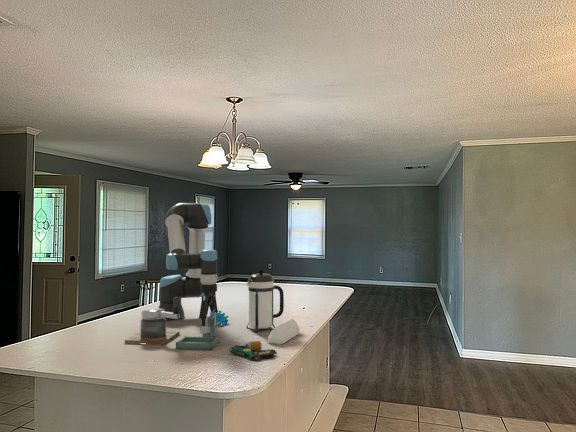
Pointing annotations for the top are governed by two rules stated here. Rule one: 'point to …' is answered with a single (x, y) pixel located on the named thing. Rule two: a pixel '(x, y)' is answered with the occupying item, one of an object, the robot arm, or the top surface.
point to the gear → (221, 318)
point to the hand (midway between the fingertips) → (208, 329)
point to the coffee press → (262, 301)
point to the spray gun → (251, 348)
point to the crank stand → (153, 333)
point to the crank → (161, 313)
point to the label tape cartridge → (210, 325)
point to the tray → (197, 343)
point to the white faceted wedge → (284, 332)
